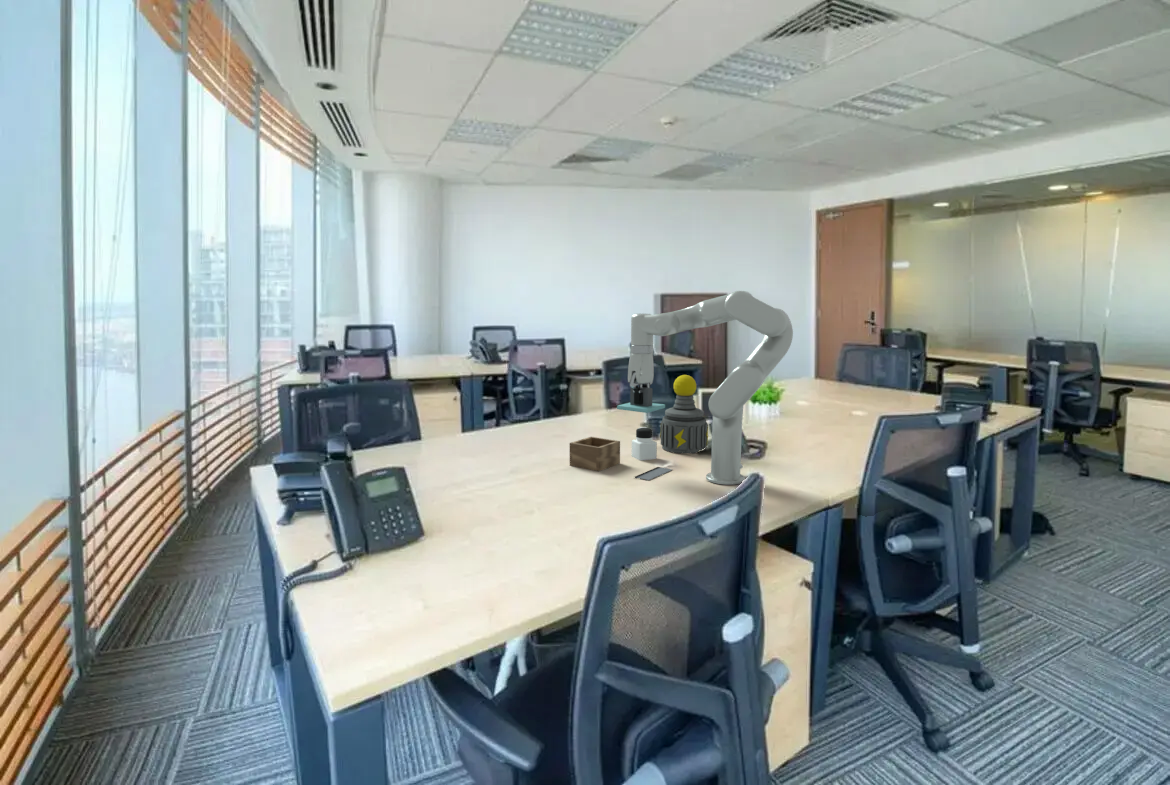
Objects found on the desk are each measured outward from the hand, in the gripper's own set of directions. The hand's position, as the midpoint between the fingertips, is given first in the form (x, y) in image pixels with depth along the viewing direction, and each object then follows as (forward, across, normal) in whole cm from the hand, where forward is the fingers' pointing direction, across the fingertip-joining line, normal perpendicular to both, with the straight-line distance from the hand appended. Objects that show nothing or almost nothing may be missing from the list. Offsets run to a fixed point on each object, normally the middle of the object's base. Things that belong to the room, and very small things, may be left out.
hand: (641, 402), depth 214 cm
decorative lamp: (+25, -39, -4) cm, 46 cm away
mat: (+24, 0, 0) cm, 24 cm away
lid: (+2, 0, 0) cm, 2 cm away
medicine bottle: (+25, -15, -8) cm, 30 cm away
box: (+24, +4, -17) cm, 30 cm away
